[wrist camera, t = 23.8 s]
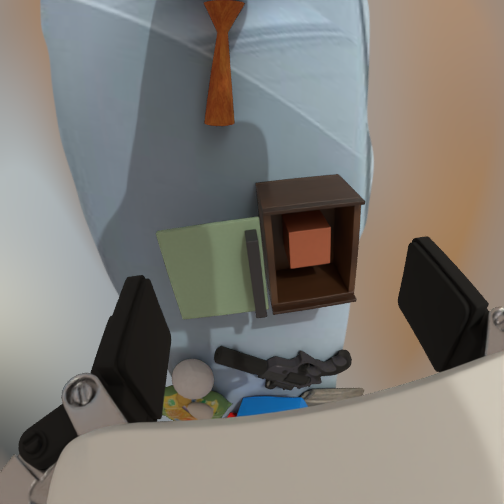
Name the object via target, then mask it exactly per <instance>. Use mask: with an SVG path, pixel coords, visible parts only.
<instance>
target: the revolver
mask: <svg viewBox="0 0 504 504" xmlns="http://www.w3.org/2000/svg"><path fill="white" fill-rule="evenodd" d="M214 360H215V362H216V363H219V364H222V365H225V366H228V367H231V368H235V369H238V370H241V371H245V372H248V373H252V374H255V375H258V378H262V379H264V378H265V379H266V383H265V387H266V388H268V389H273V388H275V387H276V386H278V387H280V388H283V390H285V389H287V390H292V389H293V387H297V388H298V389H300V388H302V387H307V386H308V387H310V385H311V384H320V383H321V382H322V381H321V376H331V375H336V374H338V373H341V372H343V371H345V370H346V369H348V368H349V367H350V365H351V360H352V359H351V356H350V353H349V352H348V351H347V350H340V351H339V354H338V355H337V356H334V357H332V358H331V359H330V360H328V361H326V362H322V361H320V360H318V359H317V360H315V359H314V358H312V357H311V356H309V355H308V354H306V353H305V352H303V351H300V352H299V355H298V356H297V357H295V358H293V359H284V358H280V357H277V356H275V357H273V358H270V359H268V360H267V361H265V360H263V359H260V358H257V357H253V356H250V355H247V354H244V353H241V352H238V351H235V350H232V349H229V348H226V347H223V346H220V347H219V348H217V350H216V352H215V355H214ZM304 363H306V364H305V365H303V364H304ZM309 363H310V364H313V365H312V366H310V365H309Z"/></svg>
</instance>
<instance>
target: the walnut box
mask: <svg viewBox="0 0 504 504" xmlns="http://www.w3.org/2000/svg"><path fill="white" fill-rule="evenodd" d="M256 192H257V201H258V210H259V219H260V228H261V237H262V246H263V255H264V265H265V274H266V279H267V284H268V289H269V295H270V300H271V305H272V311H273V315H275V314H282V313H289V312H296V311H302V310H309V309H315V308H321V307H327V306H333V305H339V304H344V303H350V302H355V301H356V298H355V295H354V288H355V278H356V268H357V257H358V244H359V231H360V214H361V205H364V204H365V201H364V200H363V199H362V198H361V197H360V195H359V194H358V193H357V192H356V191H355V190H354V189H353V188H352V187H351V186H350V185H349V184H348V183H347V182H346V181H345V180H344V179H343V178H342V177H341V176H340V175H339V174H336V175H324V176H313V177H303V178H294V179H284V180H276V181H267V182H259V183H256ZM314 210H320V211H321V213H322V214H323V216H324V217H325V219H326V221H327V222H328V224H329V225H330V227H331V246H330V263H327V264H320V265H313V266H306V267H299V268H292V269H291V268H290V265H289V262H288V259H287V256H286V252H285V249H284V240H283V226H282V214H288V213H297V212H305V211H314Z"/></svg>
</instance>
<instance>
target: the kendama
mask: <svg viewBox="0 0 504 504" xmlns="http://www.w3.org/2000/svg"><path fill="white" fill-rule="evenodd" d="M244 4H245V3H243V2H240V1H233V0H214V1H207V2H204V5H205V7H206V9H207V11H208V13H209V15H210V18H211V20H212V22H213V24H214V26H215V28H216V31H217V38H216V44H215V50H214V57H213V63H212V70H211V77H210V83H209V91H208V98H207V106H206V113H205V121H204V123H205V124H206V125H211V126H228V125H232V124H234V110H233V97H232V83H231V69H230V55H229V41H228V32H229V30H230V28H231V27H232V25H233V23H234V21H235V20H236V18H237V16H238V14H239V13H240V11H241V9H242V8H243V6H244Z"/></svg>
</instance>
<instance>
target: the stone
mask: <svg viewBox="0 0 504 504" xmlns="http://www.w3.org/2000/svg"><path fill="white" fill-rule="evenodd" d="M363 392H364V390H363V388H331V389H311V390H310V391H308V392H304V394H303V395H301V396H300V397H302V398H303V399H304V401H305V402H306V404H307V405H308V407H310V406H315V405H321V404H326V403H331V402H335V401H340V400H345V399H349V398H353V397H358V396H362V395H363Z"/></svg>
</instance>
